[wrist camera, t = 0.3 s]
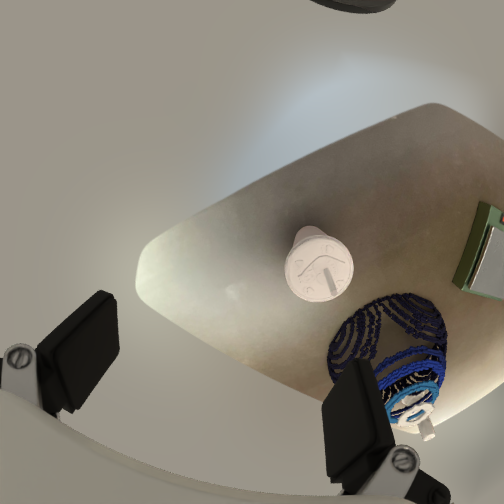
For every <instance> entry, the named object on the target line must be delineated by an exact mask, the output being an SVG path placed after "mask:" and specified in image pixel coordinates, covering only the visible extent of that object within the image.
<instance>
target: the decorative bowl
mask: <svg viewBox="0 0 504 504" xmlns="http://www.w3.org/2000/svg"><path fill="white" fill-rule="evenodd" d="M402 296H403V298H404V299H405V300H406V301H407V302H408V303H409V304H411V305H412V306H414V307H415V308H416V309H418V310H420V311H421V312H423V313H425V314H423V313H420V312H419V311H418V310H416V309H414V308H413V307H412V306H410V305H409V304H408V303H407V302H406V301H405V300H403V299H402ZM391 298H393V299H396V301H397V302H399V303H400V304H401V305H402V306H403V307H404V308H406V309H407V310H409V311H410V312H411V313H413V315H412V316H413V317H414V318H416V319H417V320H419V321H420V322H423V323H426V324H427V323H431V325H432V326H435V327H437V328H438V331H437V329H436V328H433V327H430V326H427V325H424V326H421V324H422V323H420V322H419V321H417V320H416V319H413V318H412V317H411V316H410V315H408V314H406V313H405V312H404V311H403V310H401V309H400V308H399V307H397V305H396V304H395V303H394V302H393V301H392V300H390V299H391ZM409 298H413V299H414V300H415V301H416V302H418V303H420V304H421V305H423V306H426V307H428V308H431V309H433V310H434V312H433V313H431V312H428V311H426V310H423V309H422V308H420V307H419V306H417V305H415V304H414V303H413V302H411V300H409ZM385 300H388V301H389V306H390V307H391V308H392V309H393V310H395V311H396V312H397V313H398V314H400V316H402V317H404V319H405V320H409V319H410V323H411V324H414V325H415V329H417V330H419V331H422V330H425V331H428V332H431V333H434V334H436V336H437V338H435V337H432V336H429V335H426V334H425V333H422V332H419V333H417V330H415V329H414V328H412V327H411V326H408V327H407V324H405V322H404V321H401V319H399V318H398V317H397V316H396V315H394V314H393V313H392V314H390V313H391V311H390V310H389V309H388V308H387V307H386V306H385V305H384V304H383V303H380V302H382V301H385ZM422 300H423V301H425V302H423V301H422ZM376 303H378V305H379V306H382V307H383V308H384V310H383V312H385V313H386V314H387V315H388V316H389V317H391V316H392V318H391V319H392V320H394V321H395V322H396V323H398V324H399V325H400V326H402V328H404V329H406V331H405V332H406V333H408V334H410V333H412V334H413V333H414V332H415V334H413V335H412V336H413V337H415V338H416V339H418V338H423V340H426V341H430V342H433V343H435V345H434V346H433V348H432V349H430V348H427V346H423V345H421V346H420V347H419V346H417V347H412V346H410V348H409V349H406V351H405V350H404V351H403V352H401V351H400V352H399V353H398V352H397V353H396V355H393V356H392V357H391V356H390V358H388V357H386V358H385V359H384V361H383V362H382V363H379V365H378V366H377V367H376V369H375V370H374V371H373V372H374V375H375V377H376V376H377V375H378V373H379V372H382V371H383V369H384V368H387V367H388V365H391V364H394V362H395V361H398V360H400V359H403V358H405V357H406V356H407V357H410V355H411V356H412V355H413V354H415V355H416V354H417V353H419V354H422V353H426V354H429V355H428V356H427V357H426V359H425V360H422V361H416V362H412V363H410V364H407V365H403V366H402V367H401V368H399V369H396V370H393V372H392V373H389V374H388V375H387V377H384V378H383V379H382V380H380V381H379V382H378V386H379V390H380V392H381V396H382V397H383V395H382V394H383V392H382V391H383V389H384V392H386V393H384V397H383V398H384V399H383V402H384V404H385V403H386V401H387V399H389V397H388V395H390V391H391V393H392V394H391V397H390V399H389V401H388V402H387V403H386V404H385V408H386V412H387V415H388V418H389V422H390V423H397V426H400V427H409V426H414V425H417V424H419V423H420V422H421V421H422V420H425V419H426V418H427V417H428V416H429V415H430V414H431V413H432V411H433V410H434V406H433V404H434V401H435V400H436V398H437V397H438V396H439V395H438V394H439V389H440V387H441V385H442V382H443V381H444V377H445V370H446V362H447V361H446V360H445V359H446V351H447V346H446V345H447V340H446V339H447V336H448V335H447V331H446V327H445V323H444V320H443V318H442V317H441V316H442V315H441V313H440V312H439V311H438V310H437V309H436V307H435V306H434V304H433V303H432V302H431V301H429V300H426V299H424V298H421V297H419V296H416V295H414V294H411V293H409V294H407V293H405V294H402V295H399V294H397V293H396V295H394V294H392V296H391V297H390V296H386V297H384V298H381V299H379V298H378V299H377V301H374V300H373V302H372V303H370V304H367V305H365V306H364V308H363V309H360V308H359V310H358V311H356V312H355V314H354V315H353V317H350V318H348V319H347V321H346V322H345V321H344V323H343V324H342V326H341V328H340V329H339V331H338V333H337V334H336V336H335V337H334V339H333V341H332V342H331V344H330V345H329V350H328V351H329V352H328V356H327V363H328V370H329V375H330V376H331V379H332V380H333V383H336V382H337V380H338V378H339V377H340V375H341V374H342V372H340V373H335V372H334V369H341V370H342V369H344V368H345V367H346V365H347V364H348V362H349V361H352V360H353V359H354V357H355V356H356V355H357V353H358V352H357V351H358V350H359V347H360V345H361V344H362V339H363V337H364V334H365V333H364V332H365V328H366V327H365V324H366V323H365V321H366V320H365V317H366V316H365V314H364V312H362V311H365V309H366V311H367V316H369V318H370V319H369V322H370V323H369V325H367V327H368V328H369V330H368V331H369V332H368V336H367V337H368V338H369V339H366V343H365V344H364V346H362V348H361V349H360V351H361V354H360V357H359V358H361V359H362V357H363V356H364V357H365V356H366V354H367V353H368V350H369V349H368V348H367V346H370V345H371V341H372V337H371V334H373V333H374V332H373V331H374V328H372V325H375V323H374V321H375V316H374V315H373V314H372V312H370V311H369V309H368V308H369V307H372V305H373V307H374V309H375V311H376V315H378V317H379V318H378V320H376V323H377V324H378V325H375V333H374V334H375V335H374V338H376V340H375V342H374V343H375V344H374V345H371V347H370V350H369V351H370V352H371V354H370V355H369V356H370V357H369V358H368V360H369V361H370V360H371V359H374V357H375V354H376V353H377V350H375V349H376V346H377V345H376V344H377V342H378V339H379V333H380V328H381V323H379V322H381V319H380V317H381V312H380V311H379V310H378V309H377V308H378V305H375V304H376ZM426 314H428V315H430V316H433V317H429V316H427V315H426ZM356 315H357V316H358V317H359V318H357V322H356V323H357V326H356V327H357V328H358V329H357V330H356V331H357V332H358V337H357V340H356V341H355V342H356V343H355V345H354V348H353V349H352V351H351V352H352V353H353V354H350V355H349V357H348V358H347V360H345V361H344V362H342V363H341V364H339V365H338V364H332V363H331V360H338V358H341V357H342V356H343V354H344V353H345V352H346V350H347V349H348V347H349V344H350V342H351V339H352V338H353V337H352V336H353V333H354V327H355V326H354V324H355V322H354V319H353V318H355V317H356ZM435 316H437V318H434V317H435ZM427 319H428V320H427ZM426 320H427V321H426ZM350 323H351V326H350V327H351V329H350V331H351V332H350V334H349V337H348V338H349V339H348V341H347V344H346V345H345V347H344V348H343V350H342V351H341V353H340V354H336V355H333V351H337V349H338V348H339V346H340V345H341V343H342V342H343V340H344V337H345V336H346V329H347V328H346V326H347V324H350ZM441 325H442V326H441ZM440 328H441V329H440ZM340 332H341V334H340ZM339 334H340V335H341V336H340V339H339V340H338V342H335V340H336V339H337V337H338V335H339ZM442 343H443V344H442ZM437 345H438V347H439V349H438V348H437ZM365 347H366V349H365V351H364V350H363V349H364V348H365ZM442 352H443V353H442ZM431 355H432V356H431ZM430 357H431V360H430V359H429V358H430ZM437 358H438V359H437ZM415 372H416V373H418V375H422V376H424V375H428V374H429V373H430V372H431V373H430V374H429V375H428V376H425V377H418V376H415V375H414V373H415ZM405 375H408V376H407V377H405V378H403V379H401V380H400V381H399V380H398V381H396V380H397V379H399V378H400V377H403V376H405ZM438 375H439V377H438ZM409 376H412V377H413V378H414V379H416V381H422V382H417V383H416V382H414V381H413V380H411V379H410V377H409ZM437 377H438V381H437V382H436V383H434V381H435V379H436V378H437ZM406 378H407V380H409V382H411V383H412V384H409V383H407V381H406ZM430 378H431V379H430ZM429 379H430V380H429ZM395 381H396V382H395ZM394 382H395V383H394ZM400 382H401V384H400ZM394 384H396V386H397V389H399V392H398V391H397V389H395V387H394ZM389 386H390V387H391V389H390V387H389ZM403 387H404V388H403ZM426 389H428V390H429V392H428V394H425V396H424V397H422V398H421V399H420V400H418V401H417V402H416V403H415V402H414V403H412V404H411V405H410V406H408V407H407V406H406V407H405V408H402V409H399V410H397V411H393V412H391V409H392V408H393V407H394V405H395V404H396V403H398V402H399V401H400V400H401V399H404V398H405V396H407V395H408V396H411V395H412V396H414V395H415V396H417V395H418V394H420V393H421V392H424V391H425V390H426ZM416 391H417V392H416ZM397 392H398V393H397ZM431 393H432V395H431V396H430V397H429V395H430V394H431ZM428 397H429V398H428ZM427 398H428V399H427ZM425 399H426V400H425ZM424 400H425V401H424ZM423 401H424V402H423ZM421 402H423V403H421ZM420 403H421V404H420ZM417 404H420V405H417ZM410 408H411V409H410ZM420 409H421V410H420ZM419 410H420V411H419ZM403 411H405V412H404V413H401V412H403ZM415 411H419V412H418V413H416V414H414V415H411V416H409V415H410V414H411V413H414V412H415ZM424 412H425V413H424ZM399 413H401V414H399ZM422 413H424V414H423V415H421V416H420V417H419V418H418V419H416V420H414V421H409V420H411V419H414V418H415V417H417V416H419V415H420V414H422ZM392 414H393V415H394V416H391V415H392ZM395 414H399V415H395ZM408 416H409V417H408ZM397 418H399V419H397Z"/></svg>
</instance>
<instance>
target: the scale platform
mask: <svg viewBox="0 0 504 504" xmlns="http://www.w3.org/2000/svg"><path fill="white" fill-rule="evenodd" d="M468 288H469V289H470V290H473V291H476V292H480V293H483V294H487V295H490V296H494V297H497V298H501V299H504V232H503V231H501V230H500V229H498V228H496V227H494V226H492V225H490V229H489V232H488V235H487V238H486V241H485V244H484V247H483V250H482V253H481V255H480V258H479V261H478V263H477V266H476V268H475V271H474V273H473V276H472V278H471V280H470V283H469V285H468Z"/></svg>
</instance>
